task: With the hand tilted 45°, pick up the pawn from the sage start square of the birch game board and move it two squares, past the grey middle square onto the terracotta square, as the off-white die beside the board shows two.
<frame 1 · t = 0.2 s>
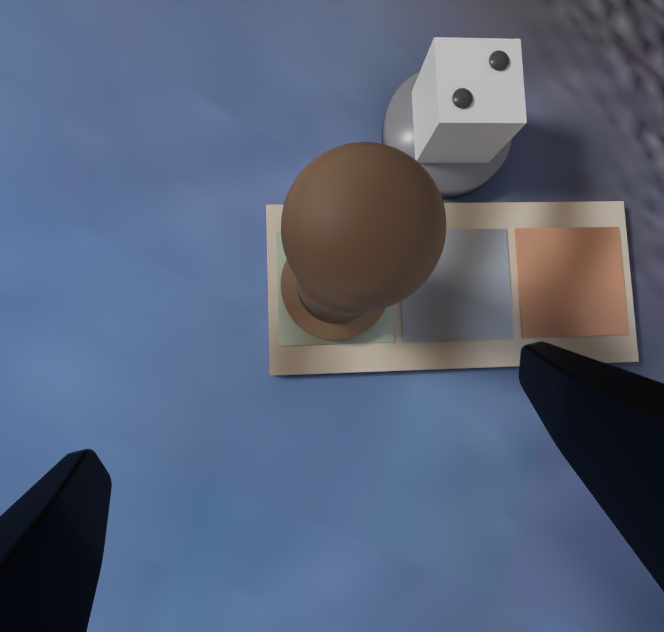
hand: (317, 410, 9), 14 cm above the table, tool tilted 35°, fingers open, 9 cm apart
pawn: (334, 286, 22), point 1 cm above the table, touching board
board: (451, 286, 24), on the table
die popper: (442, 138, 24), on the table
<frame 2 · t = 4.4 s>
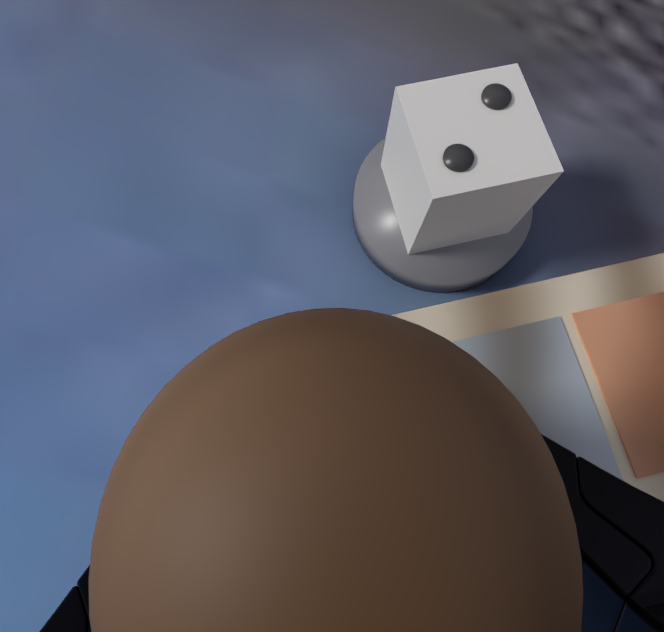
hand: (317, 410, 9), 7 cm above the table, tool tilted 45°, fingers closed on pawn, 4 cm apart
pawn: (331, 459, 15), point 1 cm above the table, touching board, gripper
board: (503, 415, 16), on the table
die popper: (435, 213, 18), on the table
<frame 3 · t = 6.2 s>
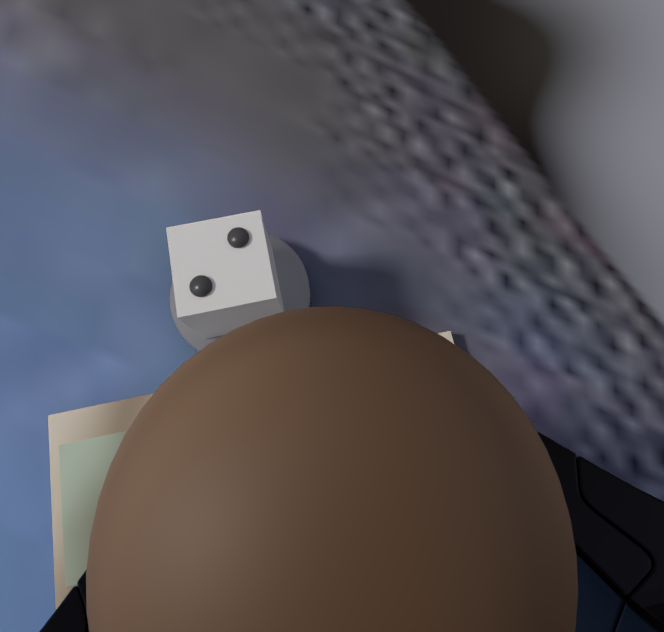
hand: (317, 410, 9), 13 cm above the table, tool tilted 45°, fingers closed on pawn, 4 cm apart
pawn: (330, 459, 15), point 6 cm above the table, touching gripper
board: (272, 465, 20), on the table
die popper: (244, 299, 23), on the table
when the fingers open (8 cm above the table, at t = 8.2 s): pawn drops 1 cm, resting on board.
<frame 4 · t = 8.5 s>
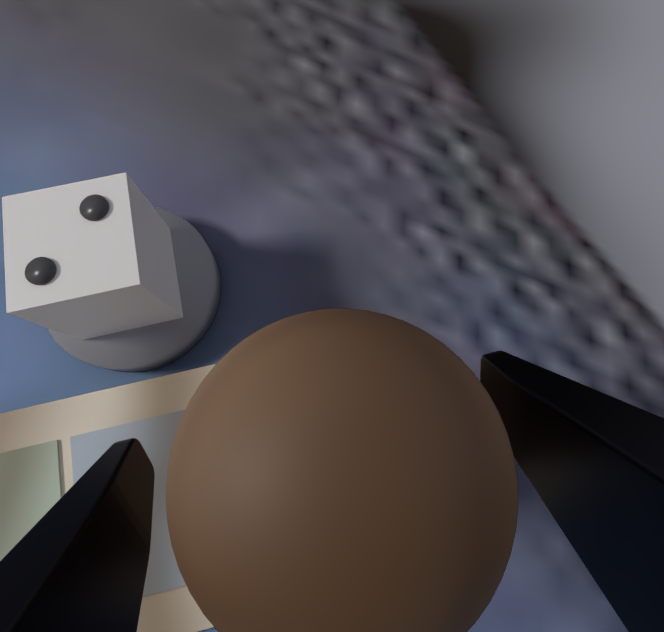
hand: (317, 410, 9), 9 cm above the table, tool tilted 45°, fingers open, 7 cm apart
pawn: (331, 458, 16), point 1 cm above the table, touching board
board: (166, 496, 16), on the table
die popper: (140, 291, 18), on the table
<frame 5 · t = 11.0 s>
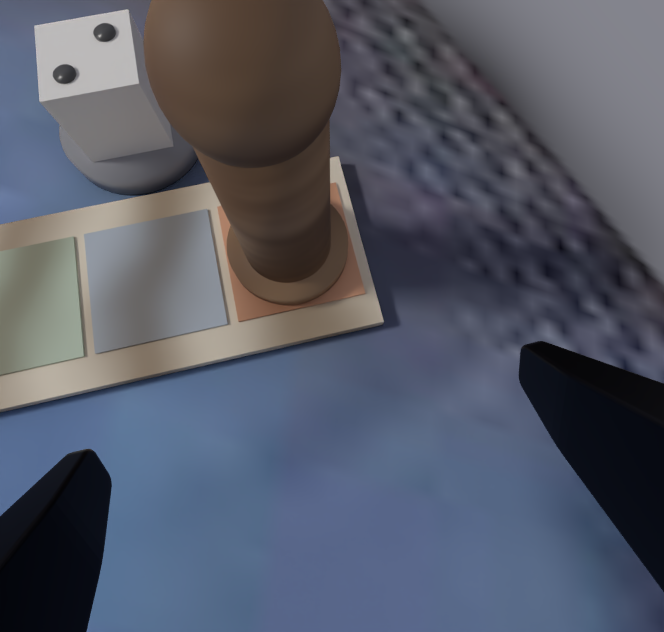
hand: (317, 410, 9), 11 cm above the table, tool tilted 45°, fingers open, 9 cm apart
pawn: (289, 249, 20), point 1 cm above the table, touching board
board: (159, 282, 21), on the table
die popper: (139, 136, 23), on the table
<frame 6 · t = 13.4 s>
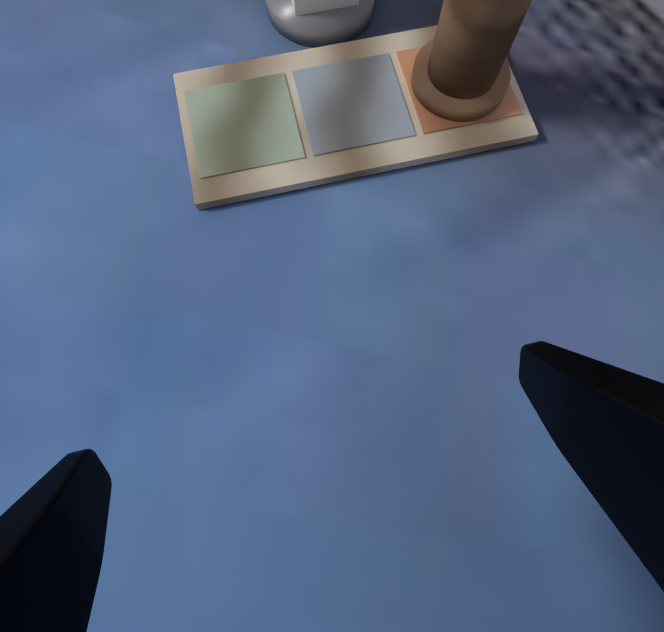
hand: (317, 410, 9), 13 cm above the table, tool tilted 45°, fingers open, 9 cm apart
pawn: (458, 81, 25), point 1 cm above the table, touching board
board: (351, 110, 26), on the table
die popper: (320, 4, 28), on the table
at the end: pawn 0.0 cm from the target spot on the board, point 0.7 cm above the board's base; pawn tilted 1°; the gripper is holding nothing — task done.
